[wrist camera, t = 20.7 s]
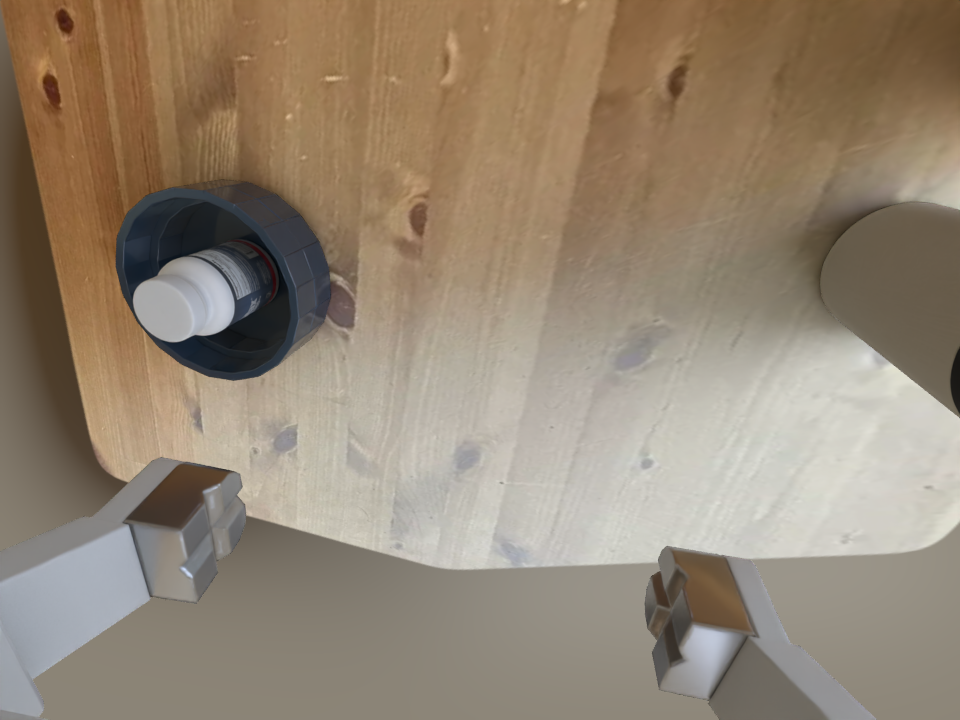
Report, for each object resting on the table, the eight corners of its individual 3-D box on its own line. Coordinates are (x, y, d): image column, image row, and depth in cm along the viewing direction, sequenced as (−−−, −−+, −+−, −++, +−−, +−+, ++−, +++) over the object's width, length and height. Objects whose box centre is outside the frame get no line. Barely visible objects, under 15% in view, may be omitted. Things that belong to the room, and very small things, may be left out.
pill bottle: (243, 316, 40) (159, 364, 32) (203, 255, 39) (104, 290, 31) (294, 291, 38) (218, 335, 31) (255, 226, 37) (164, 255, 29)
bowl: (141, 238, 40) (79, 255, 35) (256, 140, 35) (201, 144, 30) (251, 374, 43) (208, 407, 39) (368, 303, 39) (336, 329, 34)
